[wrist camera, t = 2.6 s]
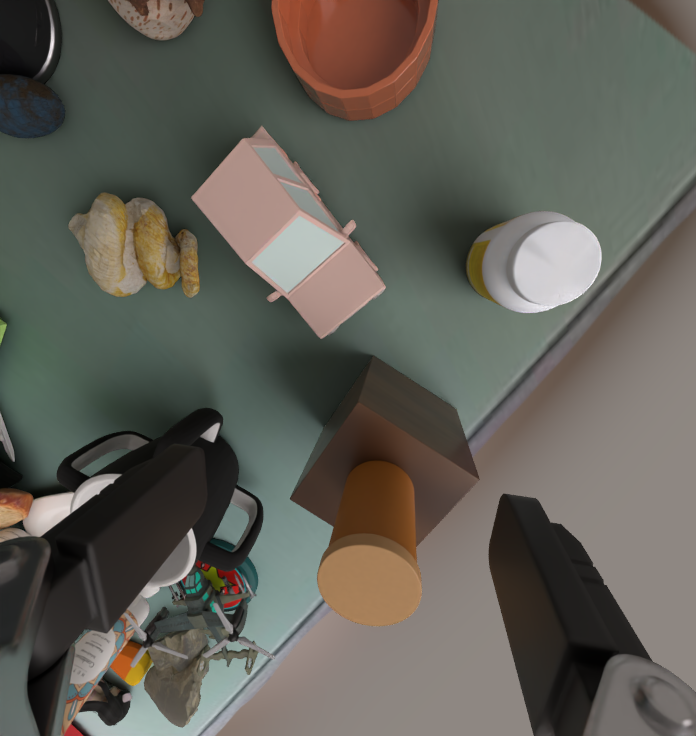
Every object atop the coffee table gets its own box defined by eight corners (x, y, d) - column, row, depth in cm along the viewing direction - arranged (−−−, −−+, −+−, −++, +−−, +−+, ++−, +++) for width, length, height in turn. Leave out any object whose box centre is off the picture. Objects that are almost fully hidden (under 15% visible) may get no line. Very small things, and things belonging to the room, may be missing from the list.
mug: (122, 406, 42) (17, 462, 30) (246, 387, 38) (179, 442, 27) (169, 521, 46) (92, 608, 34) (284, 513, 42) (240, 605, 31)
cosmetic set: (166, 588, 46) (3, 790, 28) (154, 635, 48) (1, 846, 31) (3, 510, 48) (-244, 651, 30) (2, 560, 51) (-225, 715, 33)
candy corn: (132, 693, 53) (88, 664, 53) (146, 673, 56) (104, 646, 56) (147, 669, 52) (102, 639, 52) (161, 649, 55) (117, 621, 55)
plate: (126, 478, 45) (116, 486, 43) (179, 588, 49) (171, 599, 48) (19, 494, 49) (6, 502, 47) (77, 595, 53) (67, 606, 52)
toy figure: (56, 658, 60) (127, 710, 60) (17, 698, 54) (97, 756, 54) (73, 631, 58) (146, 684, 58) (35, 670, 52) (118, 729, 52)
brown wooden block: (399, 476, 39) (397, 567, 27) (323, 428, 38) (289, 499, 27) (456, 408, 35) (480, 480, 24) (373, 355, 35) (358, 401, 24)
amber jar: (337, 511, 27) (311, 611, 19) (348, 450, 25) (324, 533, 18) (408, 528, 26) (409, 638, 19) (424, 467, 25) (432, 560, 17)
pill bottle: (482, 312, 32) (521, 341, 21) (451, 248, 31) (476, 243, 20) (554, 277, 31) (637, 288, 20) (525, 207, 29) (596, 177, 18)
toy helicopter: (269, 528, 44) (238, 588, 36) (310, 620, 47) (291, 693, 40) (140, 548, 48) (88, 605, 41) (187, 631, 52) (147, 697, 44)
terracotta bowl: (287, 115, 30) (265, 89, 25) (302, -58, 26) (279, -126, 22) (416, 131, 29) (418, 107, 24) (449, -47, 25) (459, -116, 21)
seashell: (34, 145, 28) (188, 249, 28) (101, 157, 34) (231, 244, 33) (27, 255, 33) (158, 345, 32) (87, 250, 38) (201, 327, 38)
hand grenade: (38, 54, 29) (-54, 67, 31) (19, 98, 28) (-74, 108, 30) (87, 107, 33) (4, 115, 35) (73, 147, 32) (-12, 153, 34)
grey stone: (238, 625, 55) (191, 606, 49) (234, 715, 46) (176, 704, 41) (167, 663, 57) (114, 648, 51) (150, 756, 48) (83, 750, 43)
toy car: (324, 337, 35) (295, 366, 26) (221, 211, 33) (148, 192, 24) (400, 276, 32) (397, 284, 23) (292, 134, 30) (241, 79, 21)
